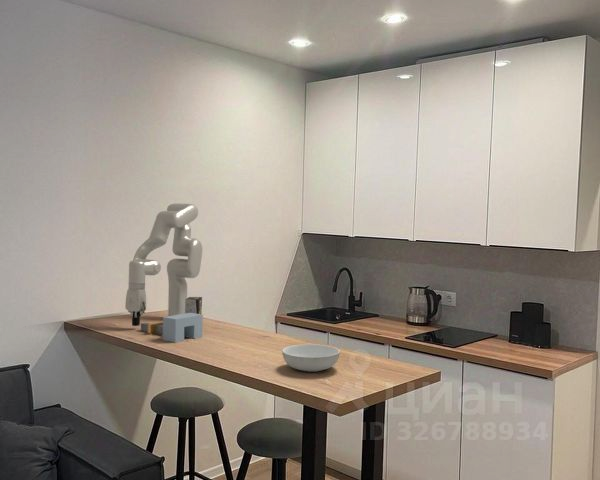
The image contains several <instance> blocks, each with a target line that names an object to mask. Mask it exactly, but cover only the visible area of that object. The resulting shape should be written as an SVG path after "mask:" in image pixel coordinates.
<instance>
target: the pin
mask: <svg viewBox="0 0 600 480" xmlns="http://www.w3.org/2000/svg"><path fill="white" fill-rule="evenodd" d="M140 332H143V333H147V334H148V335H151V334H152V335H157V334H158V336H161V335H162V336H161V337H163V321H158V322H152V323H149V322H143V323H142V322H140Z"/></svg>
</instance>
